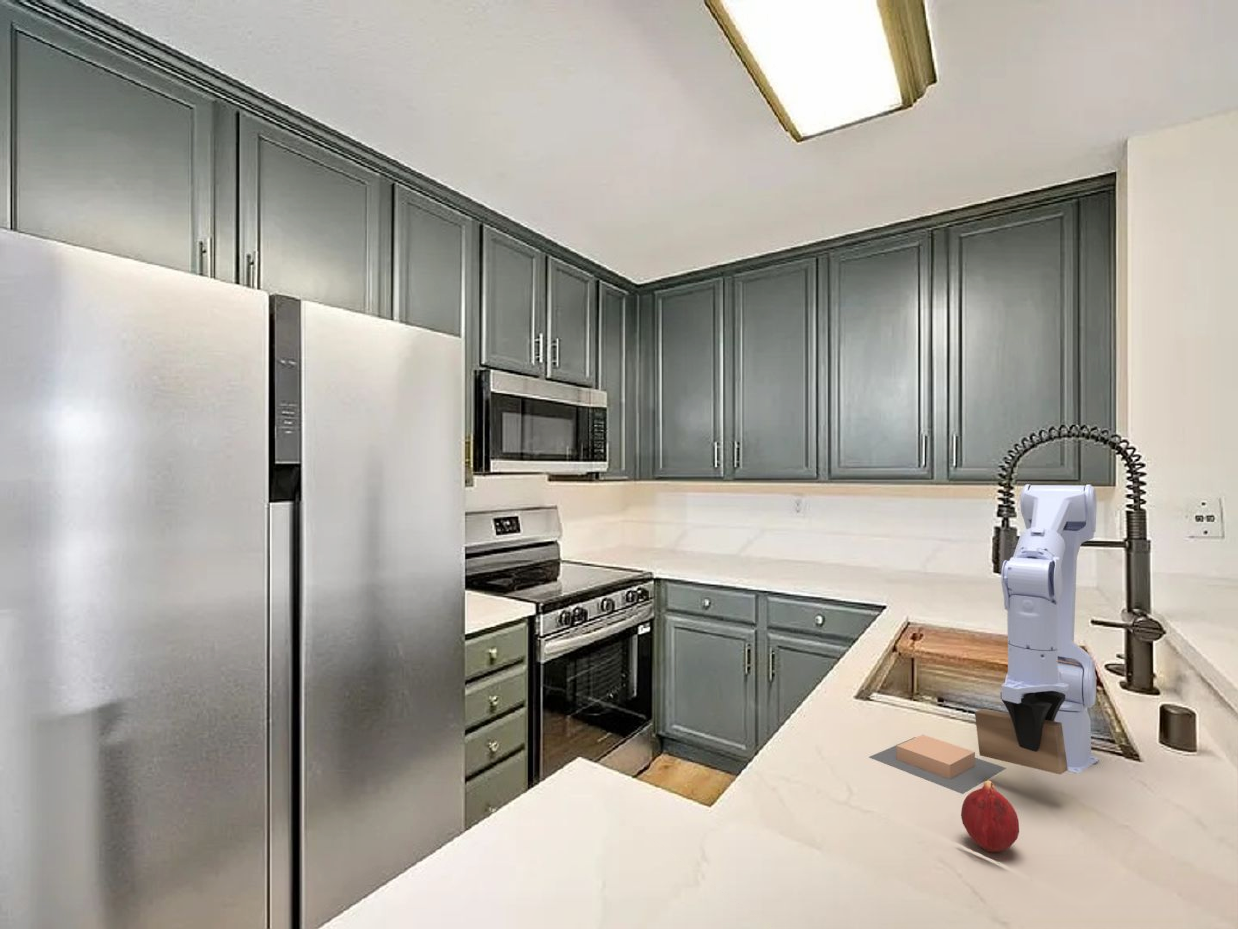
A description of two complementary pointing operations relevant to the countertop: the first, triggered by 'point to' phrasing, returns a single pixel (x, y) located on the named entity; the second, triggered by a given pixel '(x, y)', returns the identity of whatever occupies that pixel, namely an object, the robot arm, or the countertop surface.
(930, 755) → the tile
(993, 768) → the mat
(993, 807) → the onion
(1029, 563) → the robot arm
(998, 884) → the countertop surface
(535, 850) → the countertop surface
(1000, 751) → the wooden plank piece
